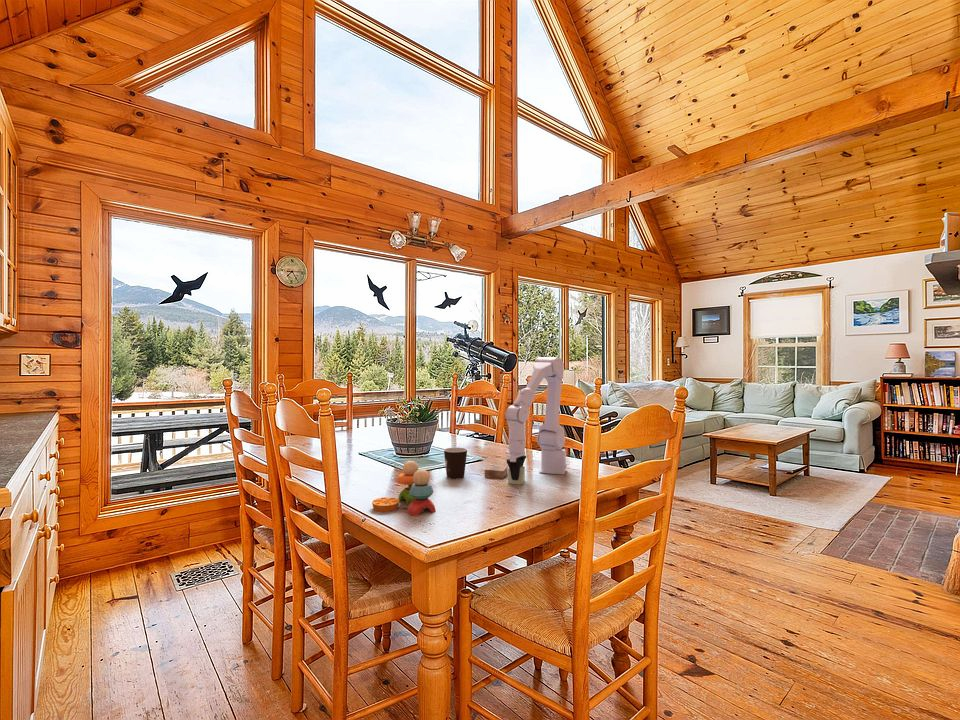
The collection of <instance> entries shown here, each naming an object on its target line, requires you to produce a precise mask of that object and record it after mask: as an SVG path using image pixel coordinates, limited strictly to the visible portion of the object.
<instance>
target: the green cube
mask: <svg viewBox="0 0 960 720" xmlns="http://www.w3.org/2000/svg"><path fill="white" fill-rule="evenodd" d="M525 470H526V468H525V466H524V465H523V466H521V468H520V473H519V478H518V480H512V478H511V473H510V469H509V468H508V473H507V478H508V479H507V483H508V484H515V485H523V484H524V483H525V481H526V479H525V477H526V476H525V475H526V474H525V472H526V471H525Z"/></svg>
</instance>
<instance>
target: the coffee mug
mask: <svg viewBox="0 0 960 720" xmlns="http://www.w3.org/2000/svg"><path fill="white" fill-rule="evenodd" d="M443 455H444V464H445V472H446V478H447V479H451V480H462V479H464V478H465V471H466V464H467V456H468V449H467V448H465V447H455V446H454V447H447V448H444V449H443Z"/></svg>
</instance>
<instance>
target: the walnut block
mask: <svg viewBox="0 0 960 720" xmlns="http://www.w3.org/2000/svg"><path fill="white" fill-rule="evenodd" d="M508 469H509V466H503V465H490V464H489V465H488V466H487V467H485V469H484V478H494V479H504V478H505V477H506V476H508Z"/></svg>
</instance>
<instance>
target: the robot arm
mask: <svg viewBox="0 0 960 720" xmlns="http://www.w3.org/2000/svg"><path fill="white" fill-rule="evenodd" d="M532 367H533V371H532V374H531V376H530V378H529V380H528V383H527V384H526V387H524V388H521V390H520V391H519V393H518V395H517V396H516V399H515V400H514V401H513V404H512V405H510V406H508V408H506V411H505V413H504V416H505V419H506V422H507V423H506V425H507V426H508V450H506V451H505V455H508V456H509V458H507V459H506V463H507V465H508V466H507V467H508V469H510V473H511V478H512V480H518V478H519V473H520V468H521V466H523V467H524V463H525V461H526V458H527V455H526V446H525V445H526V422H527V420H528V419H529V416H530V415H529V414H530V411H531V410H530V407H531V406H532V404H533V402H534V400H535V399H536V394H535V392H536V391H537V389H538V387H539V386H540V384H541V383H542V381H543V379H545V381H546V382H547V389H546V400H545V401H546V403H545V404H546V405H545V417H544V423H542V424H541V425H540V426H539V427H538V433H537V434H536V441H537V444H538V445H539V448H540V449H541V453H540V454H541V461H540V462H541V465H540V467H541V468H540V469H539V471H538V473H540V474H553V475H555V474H556V475H565V473H566V470H567V450H566V449H565V448H564V446H565V443H566V436H565V429H564V427H563V426H561V425H560V423H559V422H560V412H561V411H560V409H561V398H562V397H561V395H562V385H563V384H562V383H563V379H564V370H565V363H564V362H563V359H562V358H561V357H559V356H556V357H551V356H550V357H547V356H546V357H544V356H538V357H536V358H535V360H534V363H533V364H532Z"/></svg>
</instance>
